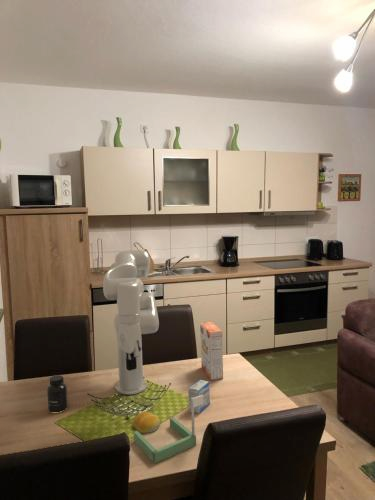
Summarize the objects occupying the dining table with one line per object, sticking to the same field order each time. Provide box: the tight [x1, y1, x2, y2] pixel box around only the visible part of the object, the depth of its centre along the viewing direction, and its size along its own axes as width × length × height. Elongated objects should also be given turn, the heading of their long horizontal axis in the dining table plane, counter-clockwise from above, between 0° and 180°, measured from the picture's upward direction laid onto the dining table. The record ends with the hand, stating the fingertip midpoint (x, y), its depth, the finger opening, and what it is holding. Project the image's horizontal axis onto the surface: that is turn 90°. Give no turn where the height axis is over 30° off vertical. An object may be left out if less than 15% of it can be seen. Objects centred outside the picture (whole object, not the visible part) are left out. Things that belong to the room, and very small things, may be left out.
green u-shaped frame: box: [133, 395, 203, 464], centre depth 119 cm, size 13×18×15 cm
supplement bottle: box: [46, 374, 69, 413], centre depth 140 cm, size 7×7×12 cm
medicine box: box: [187, 379, 211, 414], centre depth 139 cm, size 8×4×9 cm, turn 148°
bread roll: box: [132, 411, 161, 434], centre depth 129 cm, size 8×9×4 cm
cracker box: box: [199, 321, 224, 381], centre depth 167 cm, size 14×6×21 cm, turn 14°
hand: (131, 369), depth 135 cm, fingers closed
